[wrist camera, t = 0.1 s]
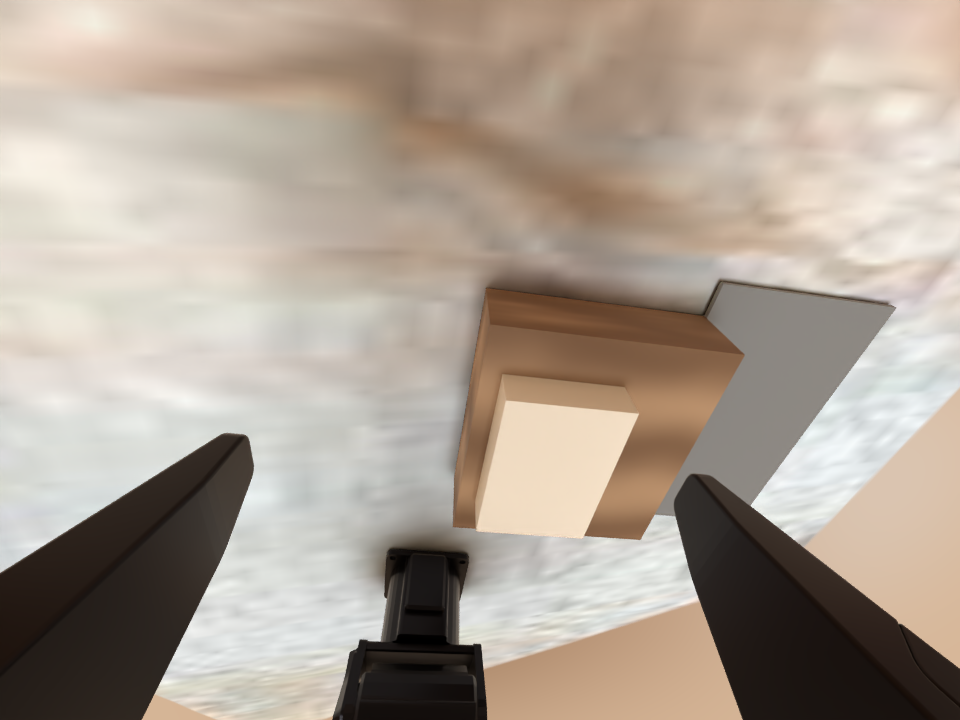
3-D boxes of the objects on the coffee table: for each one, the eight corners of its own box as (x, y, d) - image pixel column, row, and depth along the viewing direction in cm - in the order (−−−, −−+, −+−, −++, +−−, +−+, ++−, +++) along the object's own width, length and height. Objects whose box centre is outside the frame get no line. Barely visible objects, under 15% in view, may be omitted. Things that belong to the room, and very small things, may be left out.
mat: (736, 517, 33) (738, 520, 32) (612, 508, 32) (613, 511, 31) (891, 305, 23) (896, 307, 23) (720, 281, 22) (723, 284, 22)
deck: (620, 489, 31) (640, 539, 27) (454, 476, 29) (452, 527, 26) (704, 315, 23) (745, 355, 20) (486, 288, 22) (490, 324, 18)
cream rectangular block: (575, 508, 25) (582, 538, 24) (475, 501, 25) (475, 531, 23) (624, 387, 21) (639, 413, 19) (502, 374, 20) (506, 400, 18)
